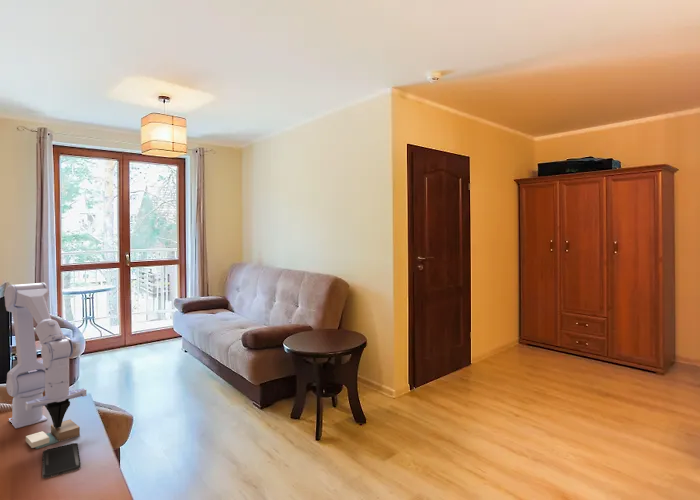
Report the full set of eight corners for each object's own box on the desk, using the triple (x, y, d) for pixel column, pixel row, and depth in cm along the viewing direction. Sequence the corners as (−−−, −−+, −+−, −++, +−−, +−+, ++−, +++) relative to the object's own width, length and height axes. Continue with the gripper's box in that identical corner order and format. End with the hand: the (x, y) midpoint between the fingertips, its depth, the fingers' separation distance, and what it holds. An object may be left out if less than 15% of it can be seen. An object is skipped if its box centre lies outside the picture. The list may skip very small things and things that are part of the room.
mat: (28, 440, 116) (28, 438, 116) (49, 433, 120) (49, 432, 120) (36, 449, 111) (36, 448, 111) (58, 442, 115) (58, 441, 115)
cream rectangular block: (42, 431, 117) (42, 436, 117) (25, 436, 114) (25, 441, 114) (49, 437, 114) (49, 442, 114) (32, 442, 111) (31, 448, 111)
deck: (50, 433, 120) (50, 424, 120) (70, 427, 124) (70, 419, 124) (59, 441, 115) (59, 433, 115) (79, 435, 119) (79, 427, 119)
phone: (77, 442, 113) (80, 465, 101) (77, 446, 113) (80, 470, 101) (42, 450, 109) (41, 476, 97) (42, 454, 109) (41, 481, 97)
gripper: (30, 391, 109) (30, 440, 110) (90, 377, 121) (90, 422, 121) (23, 385, 114) (23, 432, 114) (81, 372, 125) (81, 415, 125)
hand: (57, 426), depth 118 cm, fingers closed
